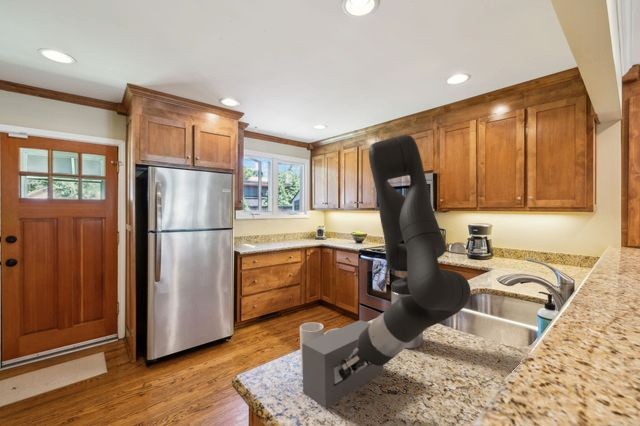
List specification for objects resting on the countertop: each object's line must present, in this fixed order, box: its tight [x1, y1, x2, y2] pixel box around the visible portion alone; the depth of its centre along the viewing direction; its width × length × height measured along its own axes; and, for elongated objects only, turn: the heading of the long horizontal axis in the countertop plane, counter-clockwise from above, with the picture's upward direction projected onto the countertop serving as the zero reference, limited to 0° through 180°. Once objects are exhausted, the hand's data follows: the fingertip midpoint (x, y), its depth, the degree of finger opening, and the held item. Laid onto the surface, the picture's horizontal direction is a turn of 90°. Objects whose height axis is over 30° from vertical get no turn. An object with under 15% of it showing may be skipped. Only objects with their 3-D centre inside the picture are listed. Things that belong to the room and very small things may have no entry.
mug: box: [299, 321, 325, 373], centre depth 81 cm, size 10×7×12 cm, turn 24°
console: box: [302, 319, 384, 409], centre depth 73 cm, size 22×8×12 cm, turn 132°
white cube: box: [333, 364, 343, 384], centre depth 68 cm, size 4×4×4 cm
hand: (342, 374), depth 66 cm, fingers closed
